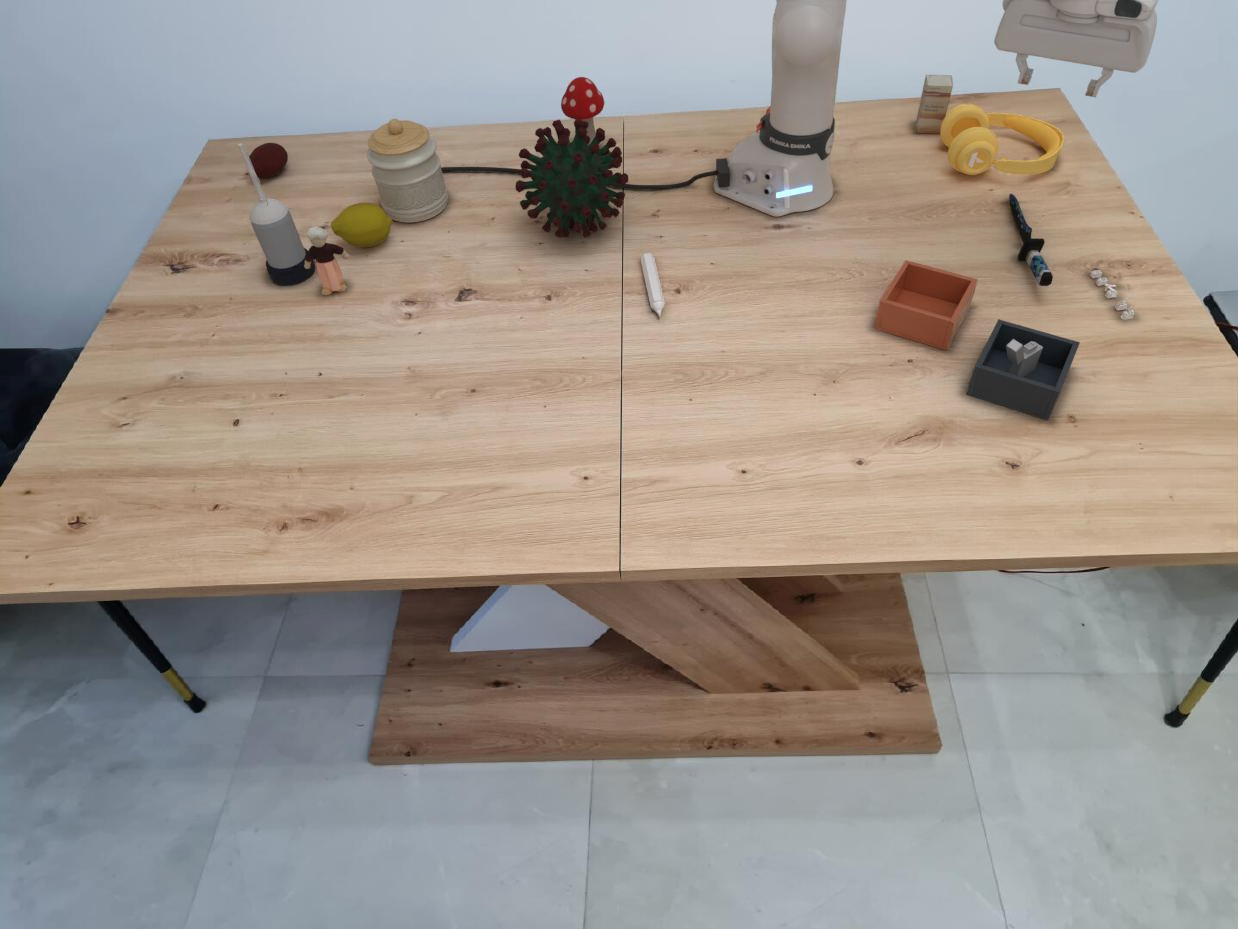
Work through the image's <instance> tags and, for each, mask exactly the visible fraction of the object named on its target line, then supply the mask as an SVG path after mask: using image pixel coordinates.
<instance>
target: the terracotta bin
mask: <svg viewBox="0 0 1238 929" xmlns="http://www.w3.org/2000/svg"><path fill="white" fill-rule="evenodd" d="M978 281H979V279H978V278H974V277H971V276H966V275H963V274H959V273H955V272H952V271H948V270H944V269H941V268H937V267H933V266H929V265H925V264H922V263H919V262H915V261H910V260H907V259H905V260H904V262H903V264H902V265H901V266H900V268H899V269H898V271H897V273H896V274H895V276H894V277H893V279H892V281H891V282H890V284H889V286H888V287H887V288H886V290H885V291H884V293H883V295H882V296H881V298H880V299H879V303H878V308H877V313H876V318H875V324H874V329H875V330H878V331H880V332H884V333H888V334H891V335H894V336H897V337H900V338H905V339H908V340H911V341H914V342H916V343H920V344H923V345H927V346H930V347H934V348H937V349H940V350H944V351H948V349H949V348H950V346H951V344H952V342H953V340H954V339H955V337H956V335H957V333H958V332H959V329H960V327H961V325H962V323H963V321H964V320H965V318H966V316H967V314H968V312H969V310H970V308H971V305H972V301H973V298H974V295H975V292H976V287H977V284H978Z"/></svg>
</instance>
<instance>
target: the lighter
mask: <svg viewBox="0 0 1238 929" xmlns="http://www.w3.org/2000/svg"><path fill="white" fill-rule="evenodd" d="M1006 349H1007V356H1008V360H1010V361H1011V362H1012V364H1011V366H1010V369H1009V372H1008V373H1011V374H1014V375H1017V376H1021V377H1024V376H1025V375H1027V374H1029V373H1030V372H1032V371H1033V370H1035V368H1036V365H1037V362H1038V360H1039V357H1040V354H1041V352H1042V349H1043V347H1042V346H1041V345H1039V344H1037V343H1036V342H1032V341H1031V342H1029V343H1028V344H1026V345H1024V346H1023V345H1022V344H1020V343H1019V342H1017V341H1016V340H1014V339H1012V340H1011V341H1010V342H1009V343H1008V344H1007V345H1006Z"/></svg>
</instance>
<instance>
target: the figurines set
mask: <svg viewBox="0 0 1238 929" xmlns="http://www.w3.org/2000/svg"><path fill="white" fill-rule="evenodd" d="M1102 275H1103V272H1102V271H1101V270H1100V269H1094V270H1092V271H1091V272H1090V274H1089V276H1090V278H1091V279H1096V282H1095V285H1096V286H1097V287H1100V286H1105V288H1104V291H1105V292H1106V293H1105V295H1104V296H1105V297H1106V299H1114V298H1117V297H1118V294H1119V292H1118V291H1117V290H1116V289H1114V287H1117V285H1116V284H1108V282H1109V279H1107V277H1106V276H1105V277H1102ZM1108 289H1109V290H1108ZM1132 296H1134V293H1133V292H1131V293H1130V294H1129V296H1128V297H1126V298H1124V299H1123V300H1122V301H1118V300H1117V303H1116V304H1115V306H1114V309H1115V310H1116V311H1122V314H1121V315H1120V318H1121V320H1123V321H1126V320H1133V318H1134V316H1135V311H1134V310H1135V309H1136V307H1134V308H1132V307H1129V308H1128V304H1127V302H1128V301H1127V300H1129V299H1130V298H1131V297H1132Z"/></svg>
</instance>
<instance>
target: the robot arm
mask: <svg viewBox="0 0 1238 929" xmlns="http://www.w3.org/2000/svg"><path fill="white" fill-rule="evenodd" d="M775 1H776V2H775V3H776V5H775V9H774V12H773V16H772V23H771V24H772V25H771V31H772V32H771V90H770V106H768V108H767V109H766V110H765V114H763V115H762V117H761V118H760V120H759V122H758V123H757V125H756V126H755V129H756V130H755V133H754V134H752V135H750V136H748V137H746V138H745V139H743V140H742V141H740V143H738V145H737V146H736V147H735V148H734V149H733V151H732V152H731V154H730V156H729V159H728V158H727V157H725V158H723V157H722V158H716V159H715V170H712V171H705V172H701V173H699V174H698V173H697V174H696V175H694V176H692V177H691V178H690V179H688V180H686V181H682V182H679V183H672V184H633V183H632V184H631V183H626V184H625V185H624V186H623V185H621V184H618V183H610V184H608V185H606V187H607V186H608V187H615V188H621V189H629V190H656V191H657V190H658V191H659V190H660V191H661V190H673V189H679V188H683V187H687V186H690V185H692V184H693V183H695V182H696V181H697V180H700V179H703V178H708V177H714V176H715V178H714V181H713V191H714V192H715V193H716V194H719V195H720V196H723V197H724V198H725V197H726V198H729V199H731V200H732V201H735V202H738V203H740V204H742V205H745V206H748V207H750V208H752V209H755V210H757V211H759V212H762V213H764V214H766V215H770V216H771V217H775V218H777V217H779V218H780V217H782V216H785V215H789V214H792V213H798V212H799V213H800V212H807V211H812V210H815V209H818V208H820V207H822V206H824V205H825V204H827V203H828V202H829V201H830V200H831V199H832V198H833V195H834V193H835V192H834V191H835V190H834V185H833V179H832V171H831V170H832V169H831V153H832V151H833V146H834V142H835V127H836V120H835V117H834V115H835V105H836V97H837V88H838V80H839V71H840V70H839V68H840V61H841V60H840V59H841V50H842V43H843V34H844V26H845V17H846V11H847V10H846V9H847V1H848V0H775ZM1158 2H1159V0H1002V9H1003V11H1004V12H1003V14H1002V17H1001V19H1000V22H999V24H998V27H997V30H996V32H995V36H994V41H993V43H994V45H995V47H996V49H997V50H998V51H1000V52H1001V51H1002V52H1009V53H1014V54H1016V57H1015V63H1016V65H1017V69H1018V72H1019V75H1018V80H1017V84H1019V85H1025V86H1029V84H1030V83H1031V80H1032V75H1033V74H1034V70H1035V69H1034V68H1030V67H1029V65H1028V60H1027V59H1028V58H1029V56H1032V57H1037V58H1042V59H1043V58H1044V59H1049V60H1056V61H1062V62H1068V63H1073V64H1079V65H1085V66H1091V67H1098V68H1102V69H1101V70H1102V71H1101V76H1100V77H1099V78H1097V79H1092V78H1091V79H1090V81H1089V83H1088V85H1087V88H1086V89H1087V90H1086V91H1085V94H1084V96H1086V97H1092V98H1097V97H1098V94H1099V91H1100V89H1101V87H1102V86H1103V85H1104V84H1105V83H1106V82H1107V81H1108V80H1110V78H1112V76H1113V75H1114V72H1115V71H1121V72H1126V73H1133V74H1135V73H1137V72H1139V71H1140V70H1142V69H1143V68H1144V67H1145V65H1146V63H1147V61H1148V58H1149V56H1150V53H1151V50H1152V47H1153V42H1154V39H1155V35H1156V29H1157V25H1158V15H1157V12H1156V9H1155V8H1156V6H1157V4H1158ZM441 169H442V173H445V172H496V173H508V174H509V173H510V174H520V171H521V169H522V168H510V167H498V166H497V167H496V166H443V167H442V166H441ZM528 170H529V171H532V170H530V169H528ZM532 172H534V171H532Z"/></svg>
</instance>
